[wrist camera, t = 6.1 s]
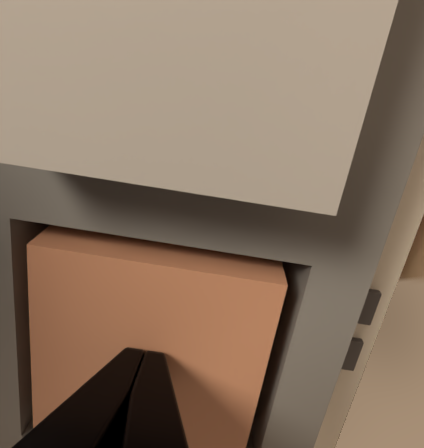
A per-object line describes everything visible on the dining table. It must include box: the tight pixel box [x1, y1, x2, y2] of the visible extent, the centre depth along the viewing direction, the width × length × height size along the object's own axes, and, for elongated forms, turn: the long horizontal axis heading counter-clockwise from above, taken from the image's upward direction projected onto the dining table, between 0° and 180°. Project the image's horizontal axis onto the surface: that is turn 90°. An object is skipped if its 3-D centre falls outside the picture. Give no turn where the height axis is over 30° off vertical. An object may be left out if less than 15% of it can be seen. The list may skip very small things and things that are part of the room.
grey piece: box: [0, 0, 424, 448], centre depth 8 cm, size 12×24×4 cm, turn 171°
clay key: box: [27, 225, 288, 448], centre depth 9 cm, size 5×5×2 cm
